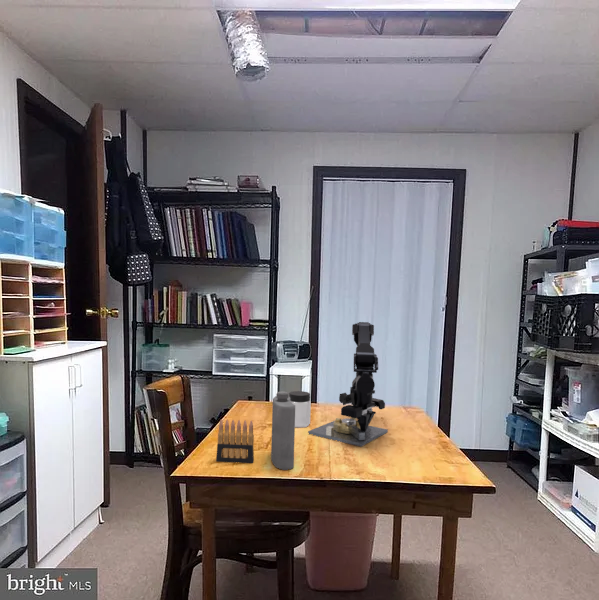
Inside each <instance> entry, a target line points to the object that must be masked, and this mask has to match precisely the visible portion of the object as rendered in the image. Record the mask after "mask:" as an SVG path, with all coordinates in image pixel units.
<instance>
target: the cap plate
mask: <svg viewBox="0 0 599 600" xmlns="http://www.w3.org/2000/svg"><path fill="white" fill-rule="evenodd" d="M341 419H342V418H341ZM356 420H357V419H356ZM356 420H354V419H350V417H348V418H346V417H345V418H343V419H342V423H343V422H344V423H347V425H348V426H350V425H356ZM334 421H335V420H333V421H330V422H328V423H325V424H323V425H320V426H318V427H315V428H313V429H311V430H307V433H309V434H308V435H310V434H313V435H312V436H314V435H316V436H315V437H319V436H320V438H323V437H324V438H323V439H327V438H328V439H329V440H331V439H332V441H335V440H337V441H336V442H339V441H340V443H345V444H347V445H348V444H349V445H353V446H356V447H360V448H361V447H363V446H365V445H367V444H369V443H370V442H372V441H374V440H376V439H378V438H380V437H382V436H384V435H385V434H387V433H388V432H389V429H387V428H383V427H377V426H372V425H368V427H367V429H366V431H365V440H358V439H357V438H356V437H354V436H353V435H352V434H345V433H339V432H337V431H336V430H334Z"/></svg>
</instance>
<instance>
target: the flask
mask: <svg viewBox="0 0 599 600" xmlns="http://www.w3.org/2000/svg"><path fill="white" fill-rule="evenodd" d="M271 414H272V415H271V417H272V419H271V444H270V445H271V450H270V459H271V462H272V464H273V465H274V467H275V468H277V469H278V468H279V470H281V469H282V470H283V471H288V469H289V470H292V469H293V468H294V463H295V435H296V434H295V432H296V431H295V430H296V427H295V405H294V404H293V403H291V402H290V397H289V393H288V392H287V391H282V390H281V391H278V392H276V396H273V398H272V413H271Z"/></svg>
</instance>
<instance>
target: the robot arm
mask: <svg viewBox="0 0 599 600" xmlns="http://www.w3.org/2000/svg"><path fill="white" fill-rule="evenodd" d="M351 328H352V329H351V330H352V331H351V335H352V336H353V342H355V344H356V348H355V353H353V372H354V373H355V378H354V379H353V380H352V382H351V386H350V387H349V388H350V390H349V394H347V392H343V393H339V397H338V398H339V399H338V401H339V403H341V404H342V405H343V406H342V407H341V408H340V415H341V416H343V417H344V416H345V417H348V418H356V420H358V422H359V425H360V429H361V430H362V431H364V432H365V431H366V429H367V427H368V426H370V423H371V421H372V420H373V418H374V415H376V414H377V413H376V411H374V410H373V408H375V407H377V408H378V409H379V410H384V409H385V408H386V402H385V401H384V400H383V399H379V398H374V397H373V395H374V394H376V390H375V385H376V383H375V380H374V373H376V374H377V373H378V372H377V371H378V370H379V358H378V355H377V354H375V348H374V347H373V346H372V345H371V342H372V339H373V337H372V336H374V335H375V334H374V333H375V325H374V324H371V322H369V321H367V322H366V321H365V322H364V321H359V322H357V323H353V324H352V327H351Z"/></svg>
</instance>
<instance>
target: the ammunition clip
mask: <svg viewBox="0 0 599 600" xmlns="http://www.w3.org/2000/svg"><path fill="white" fill-rule="evenodd" d="M224 424H225V425H224ZM235 424H236V423H235V420H234V419H232V420H231V424H230V425H229V420H228V419H226V420H225V423H224V422H223V420H222V419H220V420H219V425H218V432H217V445H216V456H215V462H217V463H236V462H237V463H238V462H239V463H240V464H253V463H254V461H255V457H254V456H255V455H254V454H255V451H254V441H255V440H254V439H255V438H254V423H253V420H250V422H249V425H248V424H247V420H244V421H243V425H242V423H241V420H240V419H238V420H237V424H236V425H235ZM237 463H236V464H237Z"/></svg>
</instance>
